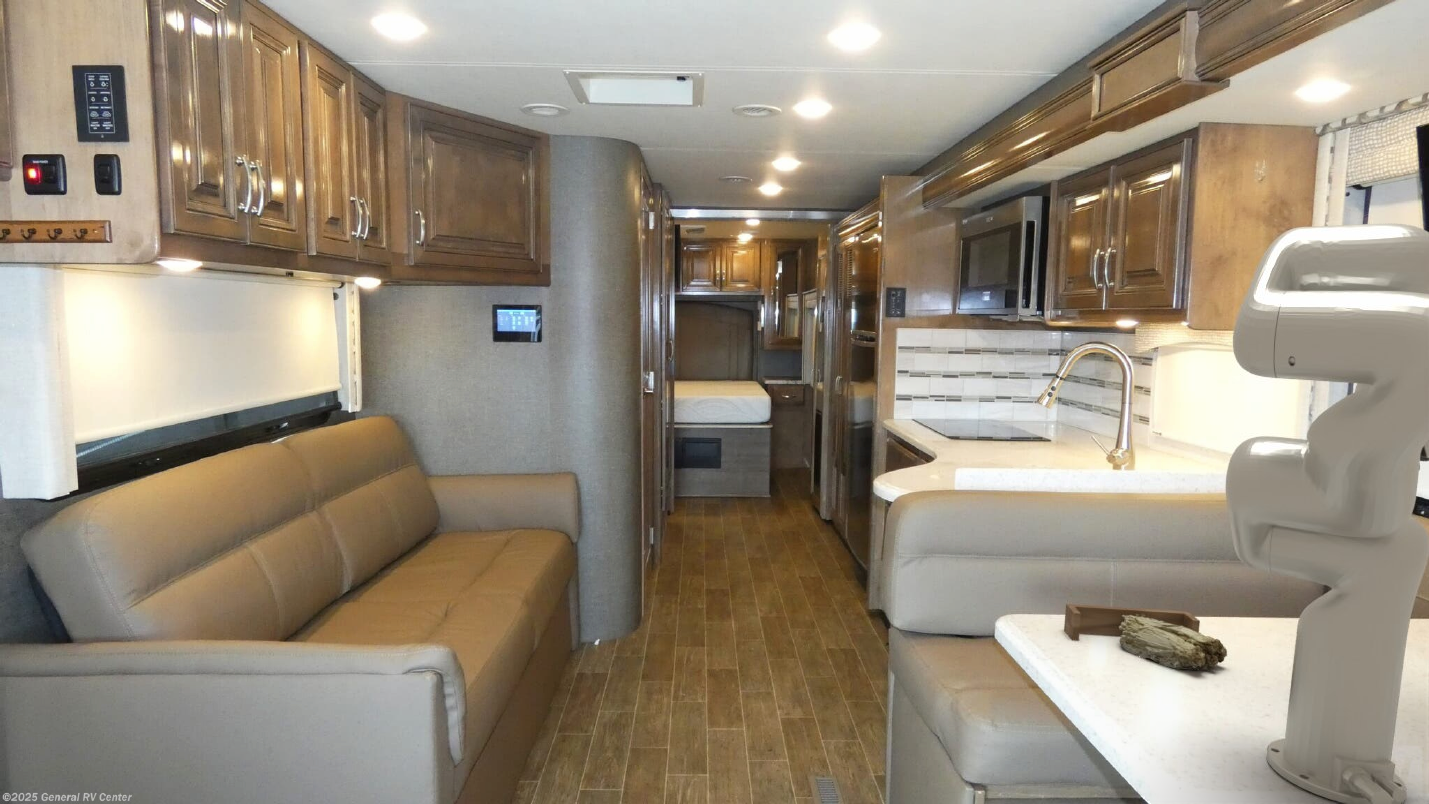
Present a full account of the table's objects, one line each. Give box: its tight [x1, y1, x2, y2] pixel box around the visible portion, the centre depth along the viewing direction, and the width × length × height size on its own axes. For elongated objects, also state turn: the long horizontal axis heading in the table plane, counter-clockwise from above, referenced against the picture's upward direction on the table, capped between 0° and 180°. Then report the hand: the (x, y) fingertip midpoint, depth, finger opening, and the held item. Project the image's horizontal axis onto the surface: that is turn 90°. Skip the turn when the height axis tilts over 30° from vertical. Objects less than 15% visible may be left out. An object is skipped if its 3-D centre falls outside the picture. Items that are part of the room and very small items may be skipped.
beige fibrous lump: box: [1119, 614, 1228, 671], centre depth 124 cm, size 14×10×5 cm, turn 34°
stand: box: [1063, 603, 1201, 641], centre depth 130 cm, size 4×19×4 cm, turn 84°
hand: (1378, 508), depth 107 cm, fingers closed
